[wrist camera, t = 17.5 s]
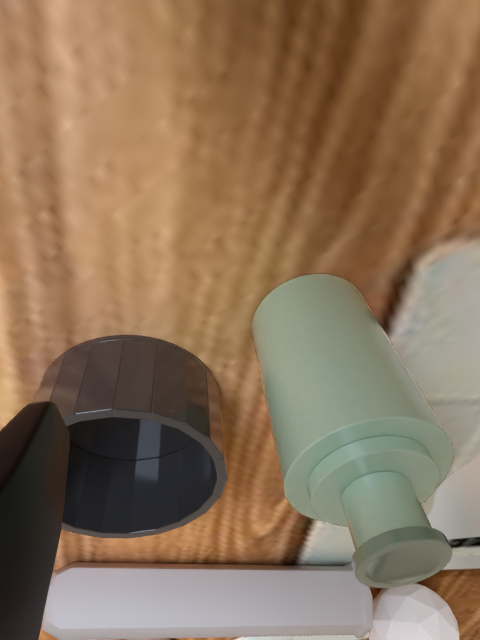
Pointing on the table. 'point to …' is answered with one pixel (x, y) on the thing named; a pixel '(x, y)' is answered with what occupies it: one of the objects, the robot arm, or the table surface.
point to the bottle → (352, 427)
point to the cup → (136, 436)
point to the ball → (412, 615)
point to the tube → (204, 601)
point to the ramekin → (150, 639)
